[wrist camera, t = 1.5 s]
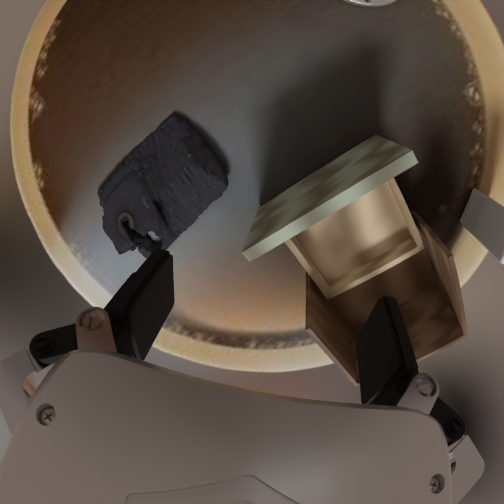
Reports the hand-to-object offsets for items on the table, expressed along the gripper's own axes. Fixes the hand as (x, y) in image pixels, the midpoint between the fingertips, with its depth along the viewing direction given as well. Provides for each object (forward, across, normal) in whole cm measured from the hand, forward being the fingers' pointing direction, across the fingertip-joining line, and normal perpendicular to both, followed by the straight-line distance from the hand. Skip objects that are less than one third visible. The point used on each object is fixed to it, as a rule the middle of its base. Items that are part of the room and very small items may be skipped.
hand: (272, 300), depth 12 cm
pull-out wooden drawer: (+24, -9, +5) cm, 26 cm away
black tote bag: (+25, +18, +7) cm, 32 cm away
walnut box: (+25, -17, +13) cm, 32 cm away
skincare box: (+25, -29, -2) cm, 38 cm away
